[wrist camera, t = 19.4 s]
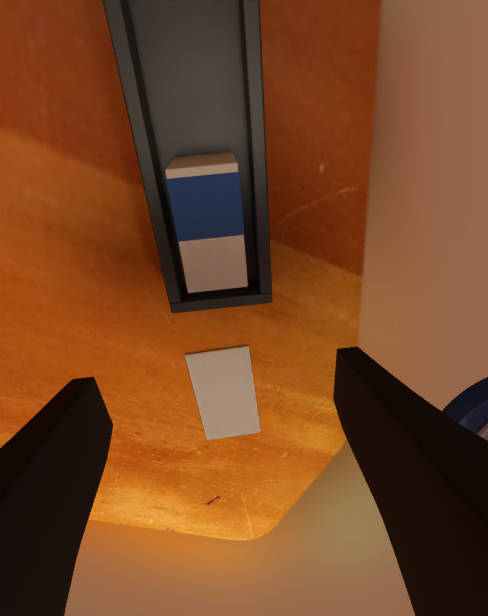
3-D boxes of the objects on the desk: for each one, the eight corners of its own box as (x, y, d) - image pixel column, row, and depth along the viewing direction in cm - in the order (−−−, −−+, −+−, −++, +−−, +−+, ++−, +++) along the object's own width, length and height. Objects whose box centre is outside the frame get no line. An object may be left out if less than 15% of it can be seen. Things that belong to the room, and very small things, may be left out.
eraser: (242, 256, 18) (248, 287, 15) (191, 261, 18) (186, 293, 15) (233, 151, 15) (238, 162, 12) (173, 157, 15) (163, 169, 12)
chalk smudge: (260, 431, 25) (260, 432, 25) (207, 439, 25) (207, 440, 25) (248, 345, 21) (248, 346, 21) (184, 354, 21) (184, 355, 21)
